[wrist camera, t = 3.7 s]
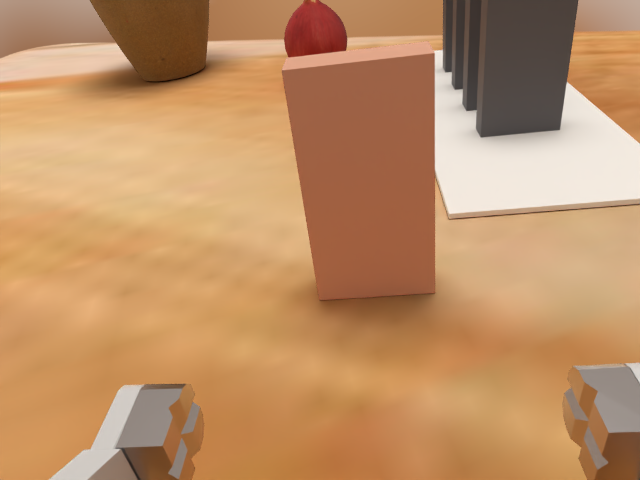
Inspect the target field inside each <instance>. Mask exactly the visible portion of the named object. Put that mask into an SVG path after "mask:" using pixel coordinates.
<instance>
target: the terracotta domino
mask: <svg viewBox="0 0 640 480" xmlns="http://www.w3.org/2000/svg"><path fill="white" fill-rule="evenodd" d="M282 75H283V81H284V88H285V94H286V100H287V106H288V112H289V118H290V124H291V130H292V136H293V143H294V149H295V155H296V161H297V167H298V173H299V179H300V185H301V191H302V198H303V204H304V210H305V216H306V222H307V228H308V234H309V240H310V247H311V253H312V259H313V265H314V271H315V277H316V283H317V289H318V295H319V300H333V299H348V298H364V297H379V296H395V295H411V294H426V293H435V52H434V51H433V49H432V47H431V45H430V43H429V41H426V42H418V43H409V44H401V45H392V46H384V47H375V48H367V49H358V50H350V51H341V52H332V53H324V54H315V55H307V56H298V57H290V58H286V61H285V63H284V66H283V68H282Z"/></svg>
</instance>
